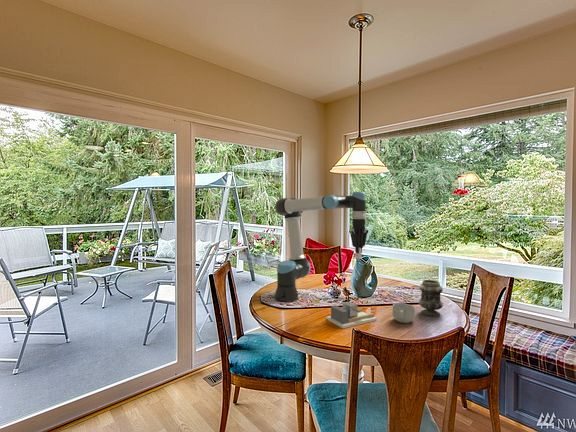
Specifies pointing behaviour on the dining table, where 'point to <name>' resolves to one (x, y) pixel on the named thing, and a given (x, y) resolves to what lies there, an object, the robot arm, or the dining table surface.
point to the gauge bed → (341, 317)
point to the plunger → (351, 309)
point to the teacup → (403, 312)
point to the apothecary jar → (430, 297)
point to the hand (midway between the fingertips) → (358, 258)
